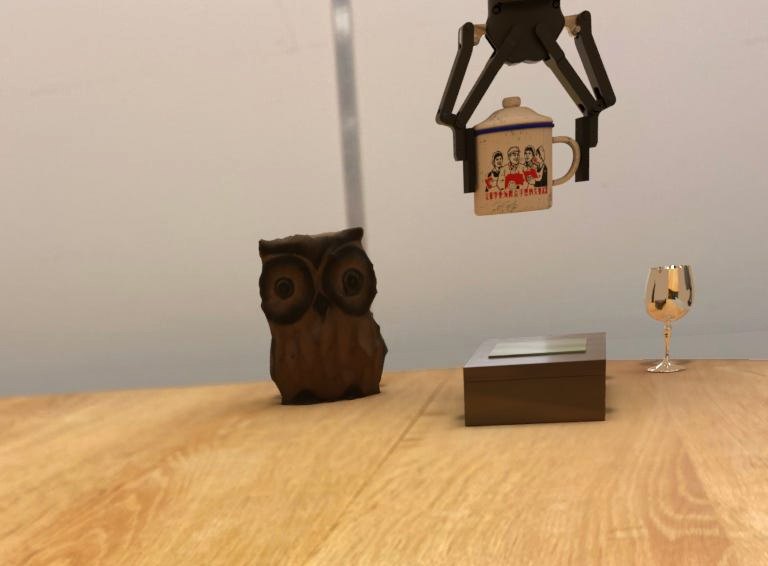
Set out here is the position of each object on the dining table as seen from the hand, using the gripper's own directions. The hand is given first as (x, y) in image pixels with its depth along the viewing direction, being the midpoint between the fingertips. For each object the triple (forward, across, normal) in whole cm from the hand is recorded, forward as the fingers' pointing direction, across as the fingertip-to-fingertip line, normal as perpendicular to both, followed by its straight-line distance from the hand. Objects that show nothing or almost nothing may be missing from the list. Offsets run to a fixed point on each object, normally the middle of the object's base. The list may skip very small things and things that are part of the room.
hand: (525, 187), depth 119 cm
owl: (+23, -23, +12) cm, 34 cm away
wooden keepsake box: (+22, -1, -9) cm, 24 cm away
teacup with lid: (+3, 0, 0) cm, 3 cm away
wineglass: (+23, +19, +5) cm, 30 cm away
